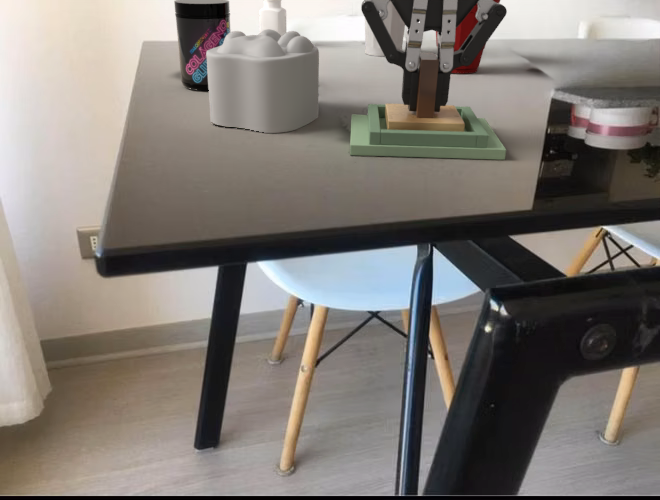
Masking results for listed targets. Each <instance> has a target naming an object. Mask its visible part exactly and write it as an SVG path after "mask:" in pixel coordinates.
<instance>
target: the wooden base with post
mask: <svg viewBox="0 0 660 500" xmlns="http://www.w3.org/2000/svg"><path fill="white" fill-rule="evenodd" d="M438 67H439V60H438V58H437V54H436V53H435V52H420V57H419V65H418V71H419V82H418V95H417V107H416V111H409V110H408V105H404V103H388V102H387V103H384V104H385V118H386V125H387V130H422V131H458V132H464V128H465V123H464V121H463V120H462V118H461V116H460V114H459V113H458V111H457V109H456V107H455V106H456V105H451V104H446V106H440V112H434V109H435V99H436V88H437V77H438Z"/></svg>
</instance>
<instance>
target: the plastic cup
mask: <svg viewBox="0 0 660 500" xmlns="http://www.w3.org/2000/svg"><path fill="white" fill-rule="evenodd" d="M493 1H494V2H496V3H500V2H501V0H493ZM500 4H501V3H500ZM477 10H478V5H477V4H476V5H475V6H474V7H473V9H472V10H471V11H470V12H469V14H468V15H467V16H466V17H465V19H464V20H463V21H462V22H461V23H460V25H459V26H458V27H457V28H456V32H455V45H454V52H455V51H458V50H459V49H460V47H461V46H462V44H463V43H464V41H465V40H466V39H467V37H468V36H469V34H470V33H471V31H472V30H473V29H474V27H475V26H476V24H477V23H478V20H477V19H476V12H477ZM435 39H436V40H435V42H436V43H435V44H436V46H437V31H435ZM486 45H487V43H486V44H485V45H484V47H483V48H482V49H481V51H480V52H479V54H478V55H477V56H476V58H475V59H474V61H473V62H472V63H471V64H470V65H469V66H461V67H458V68H455V69H454V70H453V71H452V72H451V74H463V75H464V74H474V73H476V72H478V70H479V69H478V68H479V67H480V64H481V60H482V56H483V53H484V51H485V50H484V49H486Z"/></svg>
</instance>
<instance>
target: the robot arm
mask: <svg viewBox="0 0 660 500" xmlns="http://www.w3.org/2000/svg"><path fill="white" fill-rule="evenodd" d="M389 1H391V2H392V4H393V6H394V7H395V9H396V11H397V12H398V14H399V16H400V17H401V19H402V20H403V22H404V24H405V27H406V34H405V45H404V50H403V49H402V50H399V49H397V48H396V46H395V44H394V42H393V40H392V38H391V36H390V34H389V32H388V30H387V28H386V26H385V24H384V22H383V20H385V19H386V18H387V16H388V11H387V4H388V3H389ZM476 4H477V5H478V10H477V12H476V19H477V20H478V23H477V24H476V26H475V27H474V29H473V30H472V31H471V33H470V34H469V36H468V37H467V39H466V40H465V41H464V43H463V44H462V46H461V47H460V49H459V50H458V51H455V52H454V45H455V32H456V28H457V27H458V26H459V25H460V23H461V22H462V21H463V20H464V19H465V17H466V16H467V15H468V14H469V12H470V11H471V10H472V9H473V7H474V6H475V5H476ZM360 11H361V13H362V15H363V16H364V20H365V19H366V20H367V22H368V24H369V26H370V28H371V30H372V32H373V34H374V36H375V38H376V40H377V42H378V44H379V46H380V48H381V50H382V52H383V54H384V56H383V57H385V60H386V61H387V63H389V64H391V65H396V66H398V67H400V68H401V69H402V85H401V100H402V104H404V105H408V110H409V111H416V107H417V95H418V82H419V71H418V65H419V57H420V53H421V49H422V45H423V39H424V33H426V32H430V31H434V32H436V31H437V45H436V48H437V49H436V57H437V58H438V60H439V67H438V77H437V88H436V99H435V109H434V112H440V106H446V105H448V102H449V93H450V83H451V74H452V73H451V72H452V71H453V70H454V69H455V68H458V67H461V66H469V65H470V64H471V63H472V62H473V61H474V59H475V58H476V56H477V55H478V54H479V52H480V51H481V49H482V48H483V47H484V45H485V44H486V45H487V42H488V41H489V40H490V38H491V37H492V35H493V34H494V33H495V31H496V30H497V29H498V28H499V25H500V24H501V22H502V21H503V20H504V19H505V17H506V15H507V13H508V12H507V11H508V10H507V8H506V6H504V5H503V4H501V3H496V2H494V1H493V0H363V1H362V2H361V10H360ZM486 45H485V46H486Z"/></svg>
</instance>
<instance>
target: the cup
mask: <svg viewBox="0 0 660 500" xmlns="http://www.w3.org/2000/svg"><path fill="white" fill-rule="evenodd" d="M387 11H388V16H387V18H386V19H385V20H383V22H384V24H385V26H386V28H387V30H388V32H389V34H390V36H391V38H392V40H393V42H394V44H395V46H396V48H397V49H399V50H402V51H403V45H404V44H403V43H404V37H405V29H406V25H405V24H404V22H403V20H402V19H401V17H400V16H399V14H398V12H397V11H396V9H395V7H394V6H393V4H392V2H391V1H389V3H388V4H387ZM364 39H365V40H364V41H365V45H364V47H365V49H364V53H365V54H366V55H368V56H373V57H385V56H384V54H383V52H382V50H381V48H380V46H379V44H378V42H377V40H376V38H375V36H374V34H373V32H372V30H371V28H370V26H369V24H368V22H367V20H366V19H365V18H364Z"/></svg>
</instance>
